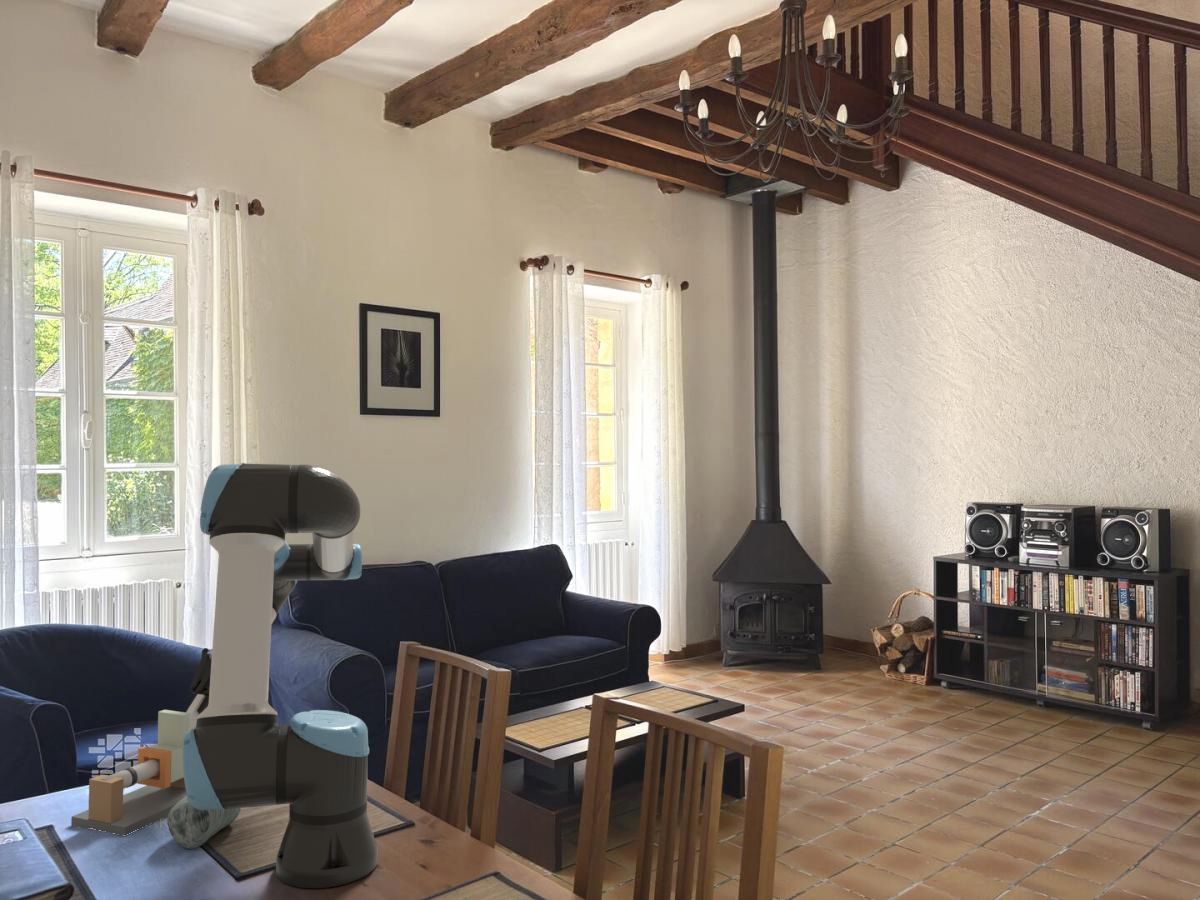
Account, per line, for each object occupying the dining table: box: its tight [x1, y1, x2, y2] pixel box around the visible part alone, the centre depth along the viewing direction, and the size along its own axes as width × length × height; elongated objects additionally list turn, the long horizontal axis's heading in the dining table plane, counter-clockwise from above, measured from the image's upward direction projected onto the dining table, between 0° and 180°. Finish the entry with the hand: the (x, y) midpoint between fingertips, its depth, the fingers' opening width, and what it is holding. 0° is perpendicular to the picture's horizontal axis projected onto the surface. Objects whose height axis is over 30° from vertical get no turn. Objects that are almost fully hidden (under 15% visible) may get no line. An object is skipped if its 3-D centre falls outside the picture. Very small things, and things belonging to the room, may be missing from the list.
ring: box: [137, 746, 171, 788], centre depth 162 cm, size 6×1×6 cm, turn 71°
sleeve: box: [149, 709, 190, 783], centre depth 165 cm, size 6×4×12 cm, turn 71°
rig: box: [70, 758, 187, 836], centre depth 161 cm, size 12×20×9 cm, turn 160°
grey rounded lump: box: [166, 795, 241, 850], centre depth 150 cm, size 14×10×10 cm
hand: (185, 728), depth 169 cm, fingers closed
